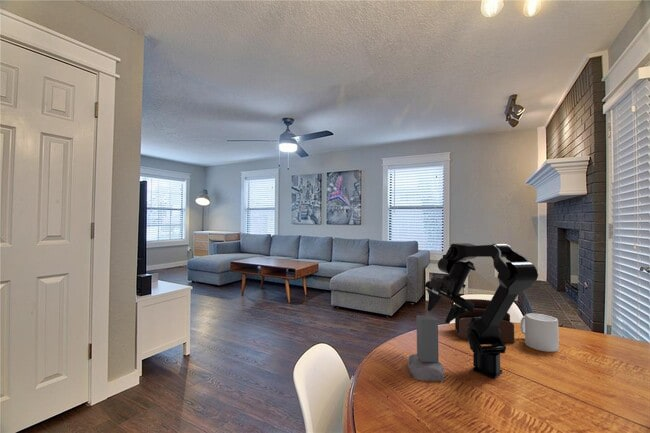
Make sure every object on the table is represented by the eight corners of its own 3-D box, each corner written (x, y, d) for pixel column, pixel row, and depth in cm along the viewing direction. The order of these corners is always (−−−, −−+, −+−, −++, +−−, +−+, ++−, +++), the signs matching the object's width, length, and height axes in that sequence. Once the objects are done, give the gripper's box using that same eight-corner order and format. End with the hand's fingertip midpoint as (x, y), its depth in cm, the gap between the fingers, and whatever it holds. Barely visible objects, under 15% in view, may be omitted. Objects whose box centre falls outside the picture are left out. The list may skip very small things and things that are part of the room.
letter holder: (454, 329, 126) (454, 297, 127) (506, 334, 121) (505, 300, 121) (459, 338, 117) (458, 303, 117) (515, 343, 111) (514, 306, 112)
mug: (511, 338, 116) (510, 311, 116) (532, 336, 118) (531, 310, 119) (543, 353, 103) (542, 322, 103) (566, 350, 105) (565, 320, 105)
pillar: (432, 355, 92) (432, 315, 93) (438, 362, 87) (437, 319, 88) (417, 355, 92) (416, 315, 94) (421, 361, 88) (421, 319, 89)
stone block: (412, 387, 85) (447, 382, 84) (409, 370, 85) (444, 365, 84) (407, 368, 97) (438, 364, 95) (404, 354, 97) (434, 349, 96)
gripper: (424, 261, 109) (405, 298, 109) (461, 277, 92) (439, 321, 91) (444, 272, 113) (426, 308, 113) (484, 290, 96) (463, 332, 95)
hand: (437, 316), depth 103 cm, fingers open, 9 cm apart
